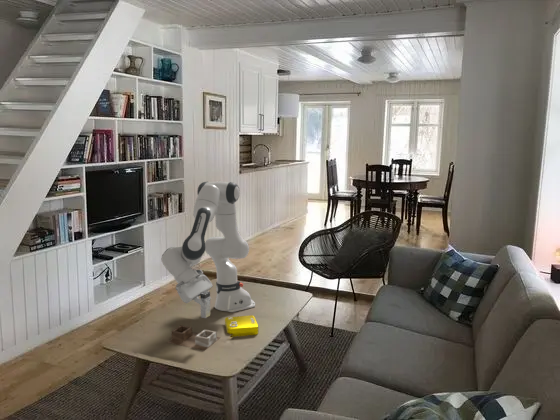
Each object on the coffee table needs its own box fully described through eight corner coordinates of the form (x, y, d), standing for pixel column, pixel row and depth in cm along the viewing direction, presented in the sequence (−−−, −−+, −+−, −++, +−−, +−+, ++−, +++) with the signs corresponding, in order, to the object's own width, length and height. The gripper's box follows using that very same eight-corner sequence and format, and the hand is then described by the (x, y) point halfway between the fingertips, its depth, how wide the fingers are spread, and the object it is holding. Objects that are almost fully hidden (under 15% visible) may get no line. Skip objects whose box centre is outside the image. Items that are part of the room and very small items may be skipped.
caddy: (184, 333, 225) (184, 322, 224) (220, 340, 218) (220, 329, 217) (166, 345, 212) (166, 334, 211) (204, 353, 205) (204, 341, 204)
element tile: (259, 335, 224) (259, 325, 223) (227, 338, 221) (227, 328, 220) (253, 322, 239) (253, 313, 238) (224, 325, 235) (224, 316, 235)
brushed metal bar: (205, 314, 212) (205, 290, 211) (210, 314, 211) (209, 291, 210) (200, 317, 209) (200, 293, 207) (205, 318, 208) (205, 294, 206)
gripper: (178, 281, 200) (198, 306, 198) (203, 268, 219) (222, 291, 217) (169, 290, 203) (189, 315, 200) (195, 276, 221) (213, 299, 219)
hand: (206, 302), depth 209 cm, fingers closed on brushed metal bar, 4 cm apart
